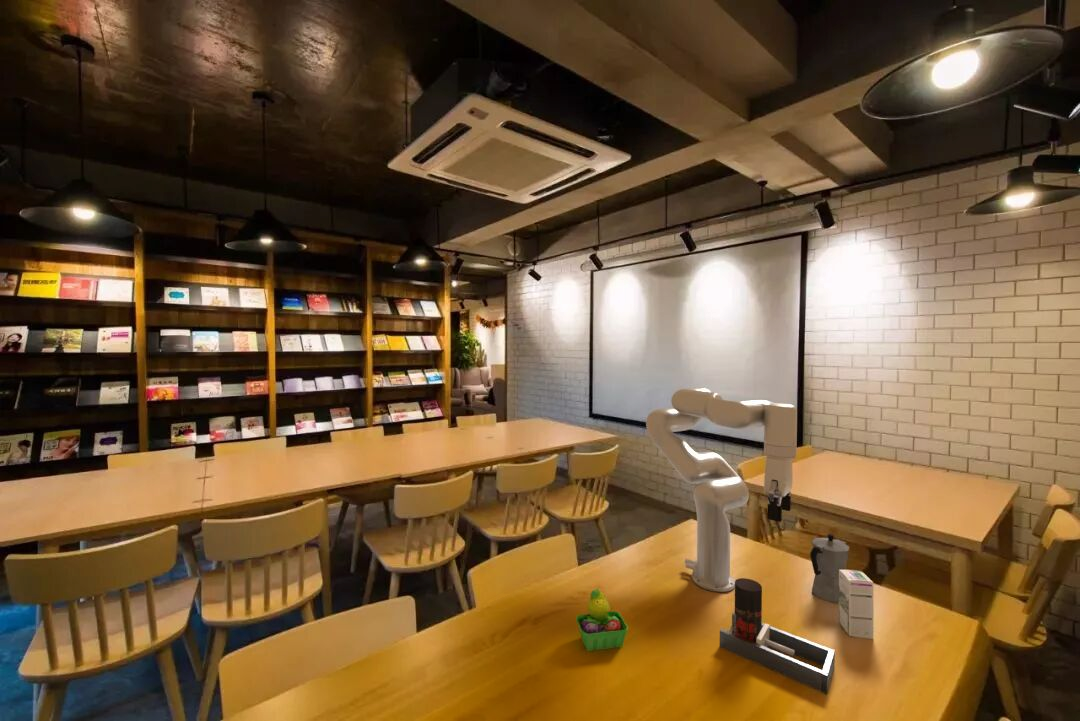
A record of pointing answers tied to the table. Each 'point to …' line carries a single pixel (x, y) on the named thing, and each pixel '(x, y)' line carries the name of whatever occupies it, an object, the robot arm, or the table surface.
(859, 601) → the syrup box
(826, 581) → the coffeepot
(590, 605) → the fruit basket
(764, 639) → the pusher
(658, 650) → the table surface
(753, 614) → the deodorant
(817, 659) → the frame
